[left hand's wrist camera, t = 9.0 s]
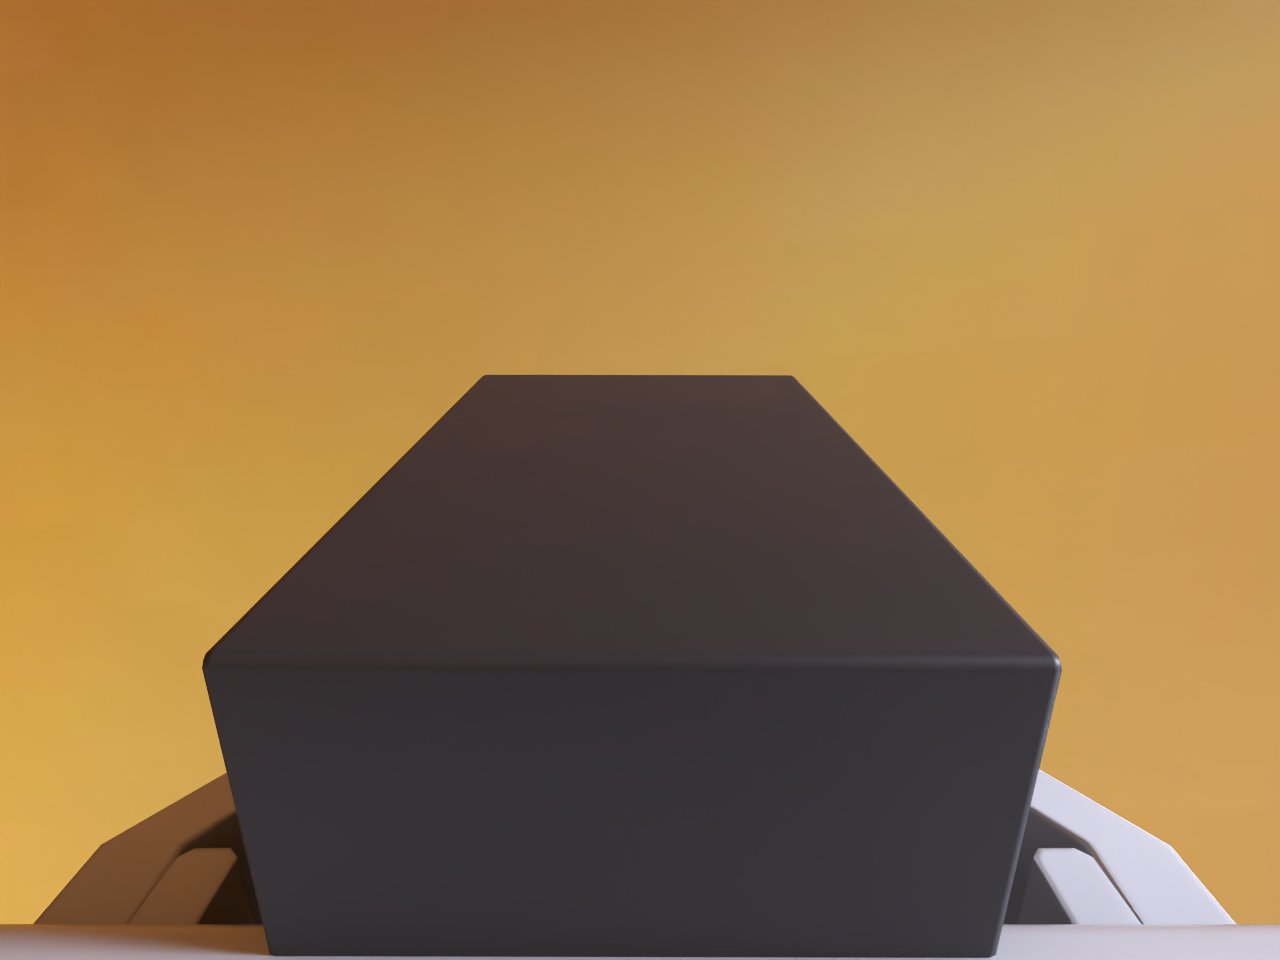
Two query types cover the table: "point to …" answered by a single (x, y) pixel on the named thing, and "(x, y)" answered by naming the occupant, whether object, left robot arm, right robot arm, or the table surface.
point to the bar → (633, 694)
